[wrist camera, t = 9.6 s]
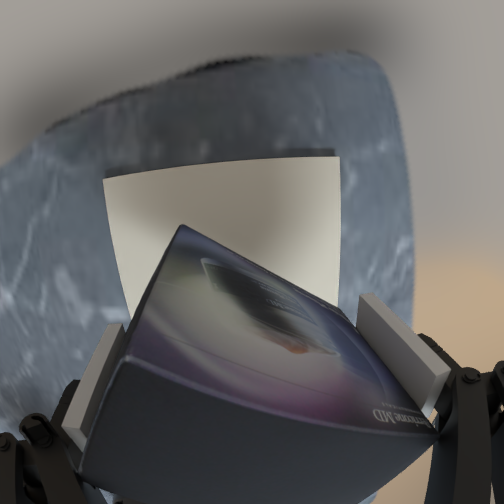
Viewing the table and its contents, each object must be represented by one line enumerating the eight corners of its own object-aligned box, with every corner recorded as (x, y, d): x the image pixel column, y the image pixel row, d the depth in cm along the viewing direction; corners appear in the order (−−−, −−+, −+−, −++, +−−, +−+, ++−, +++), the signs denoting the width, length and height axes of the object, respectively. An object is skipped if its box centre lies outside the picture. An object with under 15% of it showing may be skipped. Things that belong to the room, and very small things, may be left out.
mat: (150, 369, 23) (148, 374, 22) (105, 178, 18) (102, 179, 17) (331, 346, 24) (333, 350, 24) (335, 156, 19) (339, 156, 19)
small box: (347, 303, 16) (453, 433, 7) (286, 380, 18) (335, 520, 8) (182, 214, 14) (119, 352, 4) (131, 317, 15) (72, 483, 5)
